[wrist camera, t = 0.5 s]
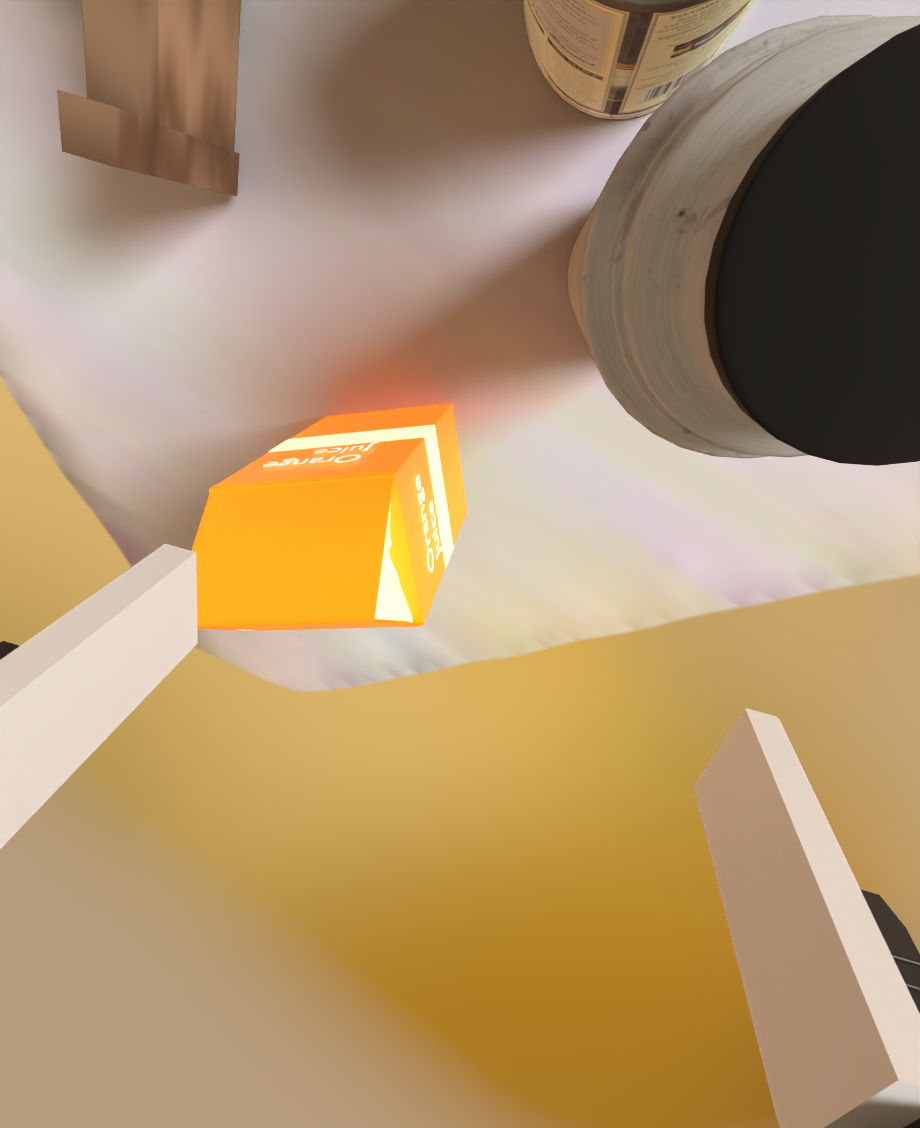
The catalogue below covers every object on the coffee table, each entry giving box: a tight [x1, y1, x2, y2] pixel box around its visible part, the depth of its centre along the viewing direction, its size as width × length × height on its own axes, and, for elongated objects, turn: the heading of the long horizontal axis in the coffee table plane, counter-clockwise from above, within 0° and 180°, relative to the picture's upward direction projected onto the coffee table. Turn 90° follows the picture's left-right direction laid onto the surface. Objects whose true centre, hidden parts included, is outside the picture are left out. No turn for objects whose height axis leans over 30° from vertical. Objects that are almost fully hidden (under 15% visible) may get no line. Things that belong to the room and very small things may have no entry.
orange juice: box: [192, 403, 467, 631], centre depth 30 cm, size 8×9×20 cm
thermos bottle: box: [567, 15, 920, 466], centre depth 19 cm, size 8×8×28 cm
